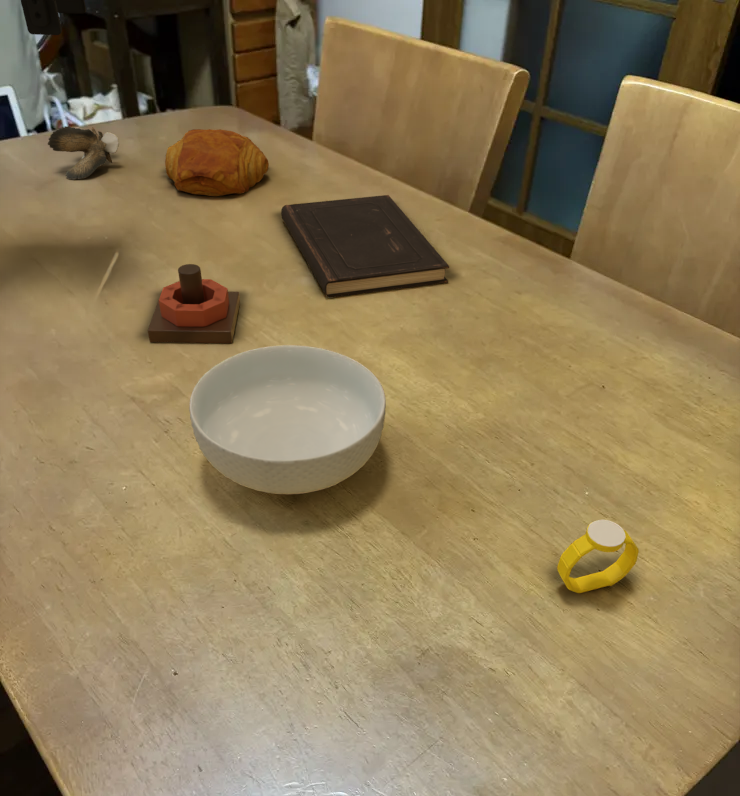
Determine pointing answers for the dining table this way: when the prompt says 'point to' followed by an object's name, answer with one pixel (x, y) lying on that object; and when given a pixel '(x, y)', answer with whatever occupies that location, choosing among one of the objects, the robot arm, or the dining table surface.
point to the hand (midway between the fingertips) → (59, 22)
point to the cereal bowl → (288, 418)
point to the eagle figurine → (84, 148)
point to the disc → (194, 305)
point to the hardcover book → (362, 246)
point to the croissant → (215, 163)
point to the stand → (194, 295)
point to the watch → (603, 539)
